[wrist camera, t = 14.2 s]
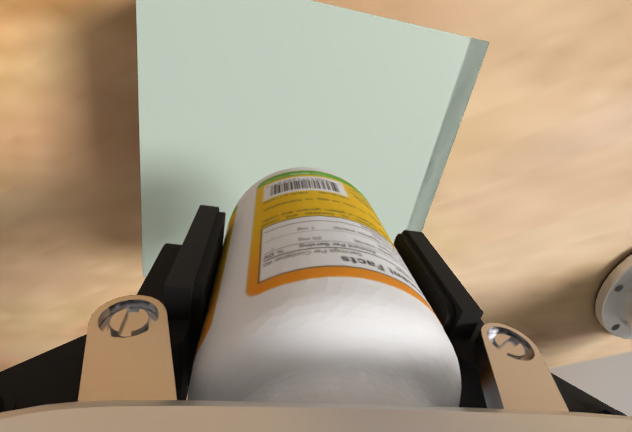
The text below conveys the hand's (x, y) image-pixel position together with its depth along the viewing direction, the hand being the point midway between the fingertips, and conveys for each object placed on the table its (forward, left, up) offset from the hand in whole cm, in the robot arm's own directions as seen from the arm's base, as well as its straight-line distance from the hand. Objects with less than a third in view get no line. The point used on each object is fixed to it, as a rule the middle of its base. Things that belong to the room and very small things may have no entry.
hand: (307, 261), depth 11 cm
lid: (0, 0, -13) cm, 13 cm away
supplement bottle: (0, 0, -2) cm, 2 cm away
